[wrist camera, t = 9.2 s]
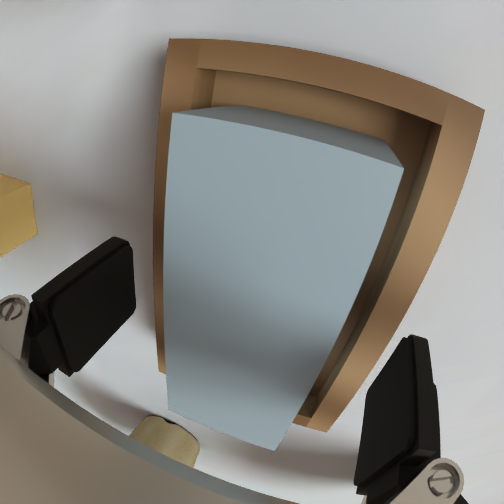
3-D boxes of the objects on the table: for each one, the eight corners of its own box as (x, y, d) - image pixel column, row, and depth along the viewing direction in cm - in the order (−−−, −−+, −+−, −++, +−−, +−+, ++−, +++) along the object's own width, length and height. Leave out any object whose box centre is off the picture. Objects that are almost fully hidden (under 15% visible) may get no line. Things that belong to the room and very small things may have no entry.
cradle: (337, 397, 17) (329, 434, 15) (176, 341, 19) (155, 370, 17) (464, 106, 9) (492, 110, 6) (200, 44, 11) (163, 35, 8)
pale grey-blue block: (298, 378, 15) (274, 451, 12) (208, 346, 16) (168, 409, 13) (385, 140, 9) (403, 168, 5) (241, 104, 10) (172, 112, 6)
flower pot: (140, 390, 24) (86, 463, 17) (232, 445, 24) (193, 525, 17) (126, 419, 29) (86, 475, 22) (198, 463, 29) (166, 523, 22)
